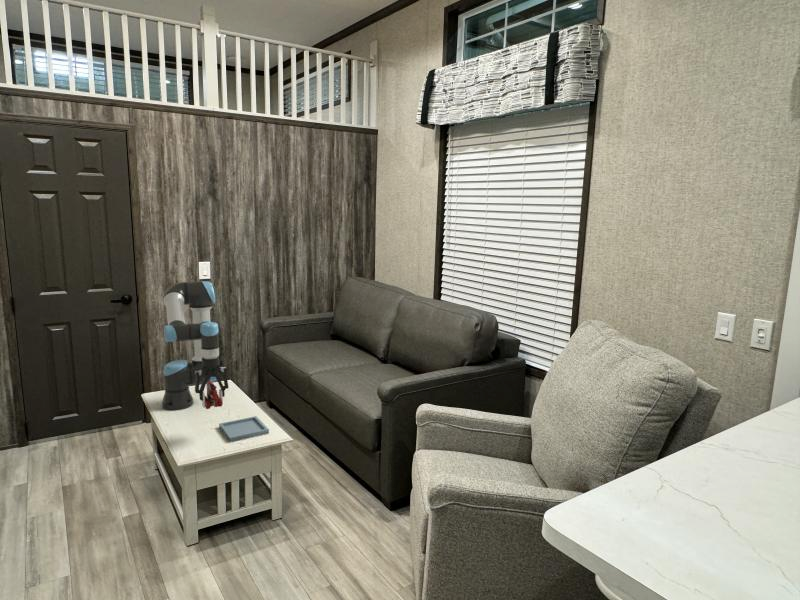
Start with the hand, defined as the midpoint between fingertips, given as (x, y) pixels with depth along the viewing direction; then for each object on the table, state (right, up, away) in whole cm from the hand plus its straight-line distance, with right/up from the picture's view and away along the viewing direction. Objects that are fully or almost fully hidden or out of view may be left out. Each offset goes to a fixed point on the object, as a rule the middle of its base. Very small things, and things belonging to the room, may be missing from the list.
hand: (212, 405), depth 245 cm
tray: (+12, -14, +8) cm, 20 cm away
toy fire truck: (0, -1, 0) cm, 1 cm away
